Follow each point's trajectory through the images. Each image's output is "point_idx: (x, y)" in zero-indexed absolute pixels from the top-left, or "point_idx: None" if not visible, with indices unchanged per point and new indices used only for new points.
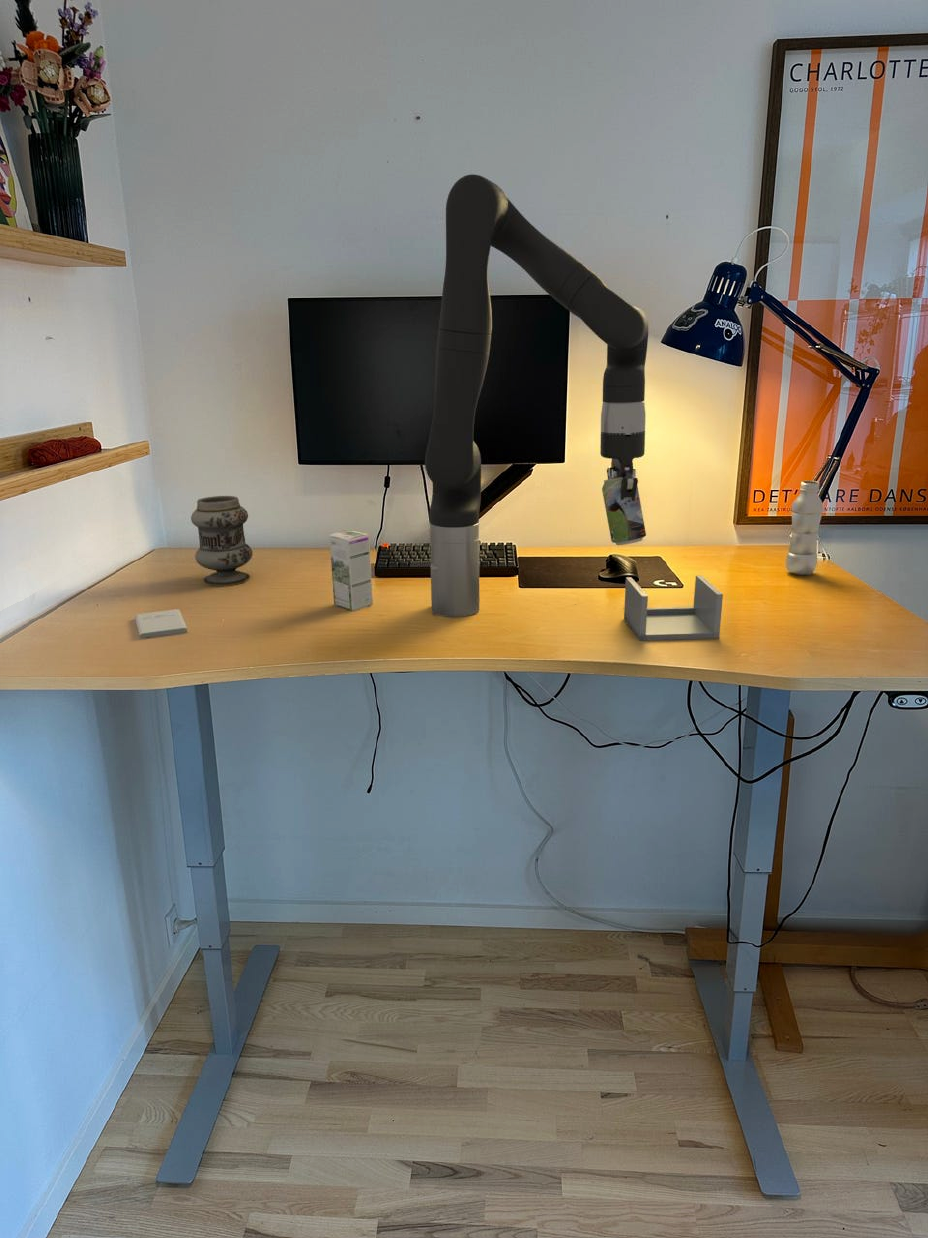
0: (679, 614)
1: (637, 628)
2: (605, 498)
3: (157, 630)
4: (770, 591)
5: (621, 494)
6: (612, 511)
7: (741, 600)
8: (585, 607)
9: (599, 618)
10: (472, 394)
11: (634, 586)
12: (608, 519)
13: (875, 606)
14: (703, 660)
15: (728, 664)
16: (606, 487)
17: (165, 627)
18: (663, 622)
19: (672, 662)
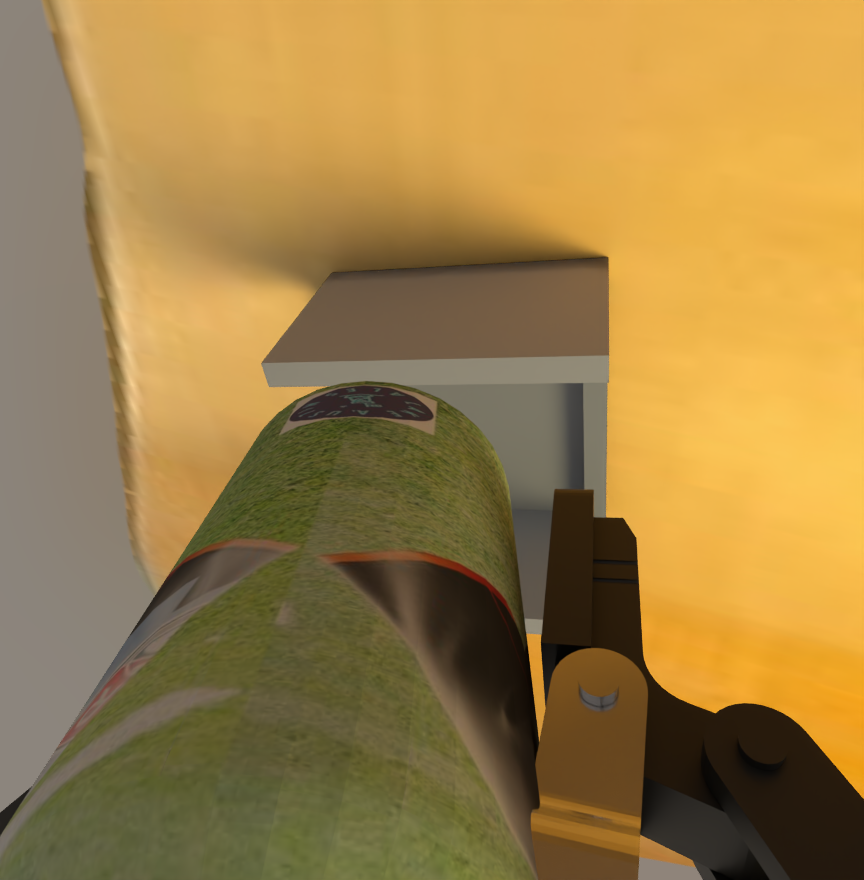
0: (576, 465)
1: (362, 285)
2: (178, 646)
3: None
4: (840, 749)
5: (9, 815)
6: (181, 566)
7: (765, 664)
8: (847, 75)
9: (628, 139)
10: None
11: (423, 362)
12: (290, 475)
13: (641, 839)
14: (193, 419)
15: (181, 466)
16: (39, 832)
17: None
18: (479, 393)
19: (150, 334)
